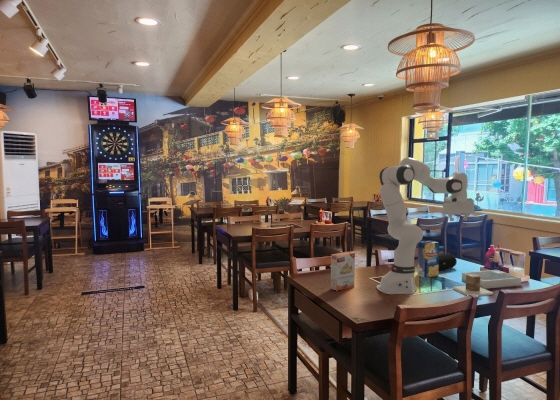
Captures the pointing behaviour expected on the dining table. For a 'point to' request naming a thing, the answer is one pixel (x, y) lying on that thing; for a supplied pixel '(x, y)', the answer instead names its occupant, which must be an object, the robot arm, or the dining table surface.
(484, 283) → the grey bin
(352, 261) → the cracker box
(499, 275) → the blue-grey block
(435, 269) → the blue tall cardboard box
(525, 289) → the dining table surface
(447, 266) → the portable speaker
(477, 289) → the walnut block
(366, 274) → the dining table surface
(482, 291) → the cream tile
